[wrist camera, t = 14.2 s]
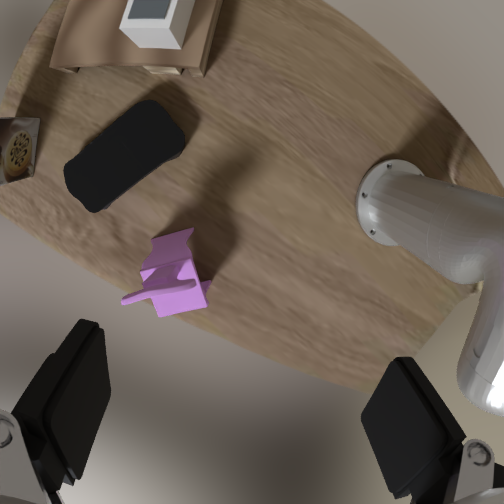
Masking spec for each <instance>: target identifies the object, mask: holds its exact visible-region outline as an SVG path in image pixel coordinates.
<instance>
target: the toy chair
mask: <svg viewBox="0 0 504 504" xmlns="http://www.w3.org/2000/svg"><path fill="white" fill-rule="evenodd" d="M193 231H194V227H193V228H189V229H185V230H182V231H178V232H175V233H171V234H168V235H164V236H161V237H157V238H154V239H151V242H152V244H153V250H152V252H151V254H150V255H149V256H148V257H147V258H146V259H145V261H144V262H143V264H142V270H141V271H140V273H141V276H142V278H143V281H144V282H143V283H142V285H143V287H144V289H142V290H139V291H137V292H134V293H131V294H128V295H126V296H124V297H123V298H122V300H121V304H122V305H127V304H130V303H133V302H136V301H139V300H143V299H146V298H150V297H151V299H152V301H153V304H154V306H155V309H156V311H157V313H158V316H159V317H164V316H168V315H172V314H176V313H180V312H185V311H189V310H195V309H200V308H204V307H208V304H209V302H208V300H207V298H206V292H207V290H208V288H209V286H210V284H211V280H208V281H204V282H200V280H199V277H198V274H197V271H196V267H195V264H194V261H193V257H192V252H191V250H190V249H189V248H188V246H187V240H188V238H189V236H190V235H191V234H192V232H193Z"/></svg>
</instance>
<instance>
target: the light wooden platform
mask: <svg viewBox="0 0 504 504" xmlns="http://www.w3.org/2000/svg"><path fill="white" fill-rule="evenodd" d="M127 3H128V0H70V1H69V4H68V7H67V9H66V12H65V15H64V18H63V21H62V24H61V27H60V30H59V33H58V36H57V39H56V43H55V46H54V50H53V53H52V57H51V61H50V65H49V67H51V68H54V69H57V70H60V71H62V72H65V73H68V74H71V73H77V71H78V67H86V66H143V67H145V68H146V69H147V70H148V71H150V72H151V73H160V74H174V75H181V72H182V68H184V69H188V70H189V72H190V73H191V75H192V76H196V77H204V74H205V70H206V65H207V61H208V57H209V53H210V48H211V44H212V40H213V36H214V32H215V28H216V25H217V21H218V17H219V13H220V10H221V6H222V3H223V0H195V3H194V6H193V9H192V13H191V16H190V19H189V23H188V26H187V30H186V34H185V37H184V41H183V45H182V49H181V50H180V49H164V48H139V47H138V46H137V45H136V44H135V43H134V42H133V41H132V40H131V39H130V38H129V37H128V36H127V35H126V34H125V33H124V32H122V31H121V30H120V29H119V27H120V24H121V21H122V18H123V15H124V12H125V9H126V6H127Z"/></svg>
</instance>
